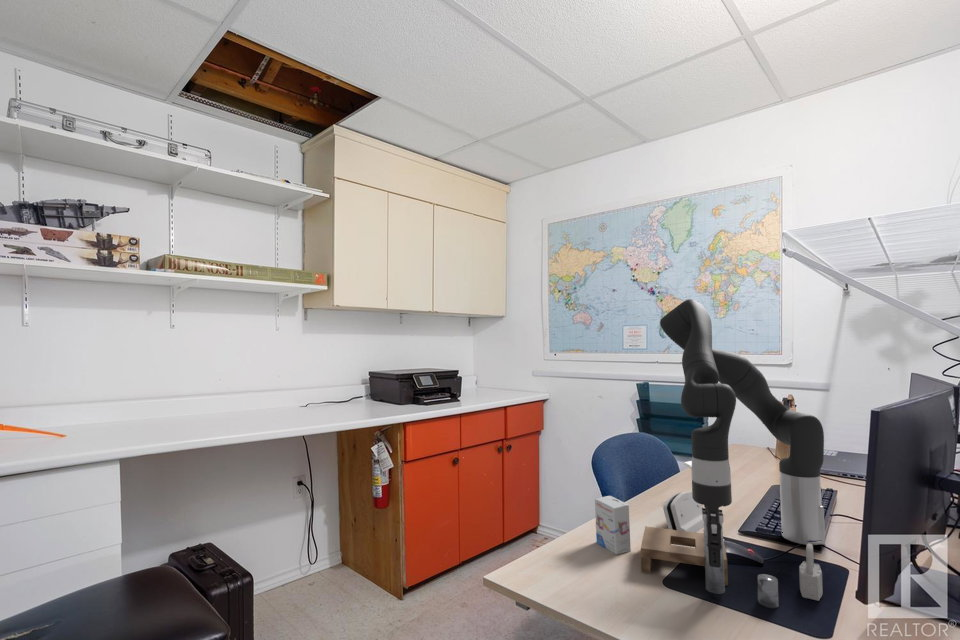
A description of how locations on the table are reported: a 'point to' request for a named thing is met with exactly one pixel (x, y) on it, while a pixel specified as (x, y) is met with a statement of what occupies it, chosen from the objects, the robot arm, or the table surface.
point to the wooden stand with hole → (674, 548)
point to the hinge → (683, 513)
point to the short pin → (768, 591)
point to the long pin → (714, 571)
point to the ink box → (612, 524)
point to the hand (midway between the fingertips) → (714, 561)
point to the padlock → (810, 576)
